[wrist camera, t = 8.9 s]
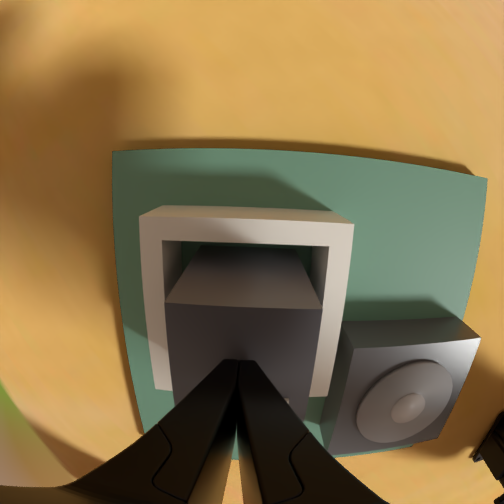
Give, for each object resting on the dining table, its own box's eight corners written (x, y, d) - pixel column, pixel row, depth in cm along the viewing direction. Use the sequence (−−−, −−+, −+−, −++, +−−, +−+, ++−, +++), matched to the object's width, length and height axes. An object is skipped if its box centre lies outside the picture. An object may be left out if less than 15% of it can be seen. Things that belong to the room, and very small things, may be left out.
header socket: (333, 211, 13) (354, 224, 10) (316, 358, 15) (327, 396, 12) (162, 205, 13) (138, 216, 10) (170, 352, 15) (155, 389, 12)
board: (476, 177, 14) (487, 178, 13) (407, 437, 18) (412, 446, 17) (121, 152, 14) (112, 151, 13) (152, 440, 18) (149, 450, 17)
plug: (295, 248, 14) (324, 312, 8) (288, 331, 15) (304, 425, 9) (200, 245, 14) (162, 304, 8) (202, 328, 15) (174, 419, 9)
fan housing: (457, 316, 15) (486, 342, 12) (422, 412, 16) (440, 443, 14) (340, 320, 15) (357, 354, 12) (319, 424, 16) (327, 462, 14)
